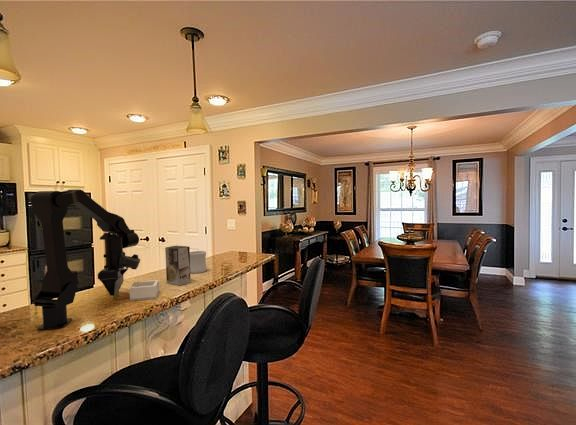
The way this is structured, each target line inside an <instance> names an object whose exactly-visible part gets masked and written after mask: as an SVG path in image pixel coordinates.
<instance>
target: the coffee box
mask: <svg viewBox="0 0 576 425" xmlns="http://www.w3.org/2000/svg"><path fill="white" fill-rule="evenodd" d="M164 249H165V254H164V255H165V269H166V270H165V271H166V272H165V273H166V276H165V277H166V284H171V285H175V286H183V285H187V284H190V283H191V279H192V278H191V273H190V252H191V251H190V246H187V245H186V246H185V245H171V246H168V247H164Z"/></svg>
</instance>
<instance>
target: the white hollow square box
mask: <svg viewBox="0 0 576 425" xmlns="http://www.w3.org/2000/svg"><path fill="white" fill-rule="evenodd" d="M159 293H160V280H159V279H154V280H143V281H142V280H141V281H134V282H133V283H132V284H131V286H130V287H129V301H130V302H135V300H137V301H144V300H156V299H157V297H158V295H159Z"/></svg>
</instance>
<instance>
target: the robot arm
mask: <svg viewBox="0 0 576 425" xmlns="http://www.w3.org/2000/svg"><path fill="white" fill-rule="evenodd" d="M30 205H31V208H32V211H33V214H34V215H35V216H36V217H37V219H38V221H40V223H41V229H42V230H41V231H42V236H43V237H42V238H43V244H44V245H43V246H44V255H45V262H46V272H45V274H44V276H43V278H42V281H41V289H40V290H39V292H38V293H37V294H36V296H35V297H34V298H33V299H32V303H33V305H34V307H41V310H42V311H41V313H42V315H41V316H42V324H41V325H40V326H39V327H38V328H37V329H36V330H37V331H45V330H53V329H54V330H55V329H62V328H65V327H66V326H67V325H68V324H69V323H70V322H71V321H72V320H73V318H72V317H68V308H67V306H68V305H71V304H73V303H74V301H75V296H76V293H77V291H78V285H80V282H79V279H78V278H79V277H78V276H79V275H78V271H77V270H71V269H70V268H69V265H68V263H69V262H68V255H67V248H66V239H65V228H64V222H63V221H64V219H65V216H66V214H67V213H68V209H69V207H68V206H71V205H73V206H75V207H76V208H77V209H79V210H80V211H82V212H83V213H85V214H86V215H87V216H89V217H90V218H91V219H93V220H94V221H95V223H96V226H97V227H98V228H99V229H100V230H101V231H102V232H104V233H103V234H102V235H101V236H100V237H99V240H102V241H103V240H104V254H103V258H105V264H104V266H103V269H101V270H100V271H99V272H98V273H97V280H99V281H100V282H101V283H102V285H103V286H104V288H105V289H106V291H107V292H108V294H109V296H111V297H113V296H114V293H115V286H116V281H117V280H118V279H119V278H120V274H122V275H123V276H125V275H124V274H125V273H126V272H127V271H129V268H130V269H131V270H137V269H138V268H139V265H140V263H141V258H140V257H139V255H138V254H133V255H129V256H128V255H126V252H125V251H124V249H126V248H127V249H128V248H130V247H136V246H137V245H138V244H139V242H140V237H139V235H138V234H137V233H136V232H135V229H130V228H129V225H128V224H127V223H126V221H125V219H124V217H122V216H120V215H119V214H116V213H113V212H110V211H108V210H107V209H105V208H104V207H103V206H102V205H101V204H99V203H97V202H96V201H95V200H94V199H93V198H91V197H90V196H89V195H87V193H86V192H85V191H84V190H83V189H79V188H77V189H76V188H75V189H67V190H63V191H59V190H42V191H41V190H40V191H36V192H35V193H34V194H32V196H31V195H30ZM121 288H122V286H121V287H120V289H121ZM53 298H55V299H53Z"/></svg>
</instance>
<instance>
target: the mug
mask: <svg viewBox="0 0 576 425" xmlns="http://www.w3.org/2000/svg"><path fill="white" fill-rule="evenodd" d="M206 260H207V251H206V250H194V251H190V274H200V273H205V272H206V271H207V270H208V269H207V261H206Z"/></svg>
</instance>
